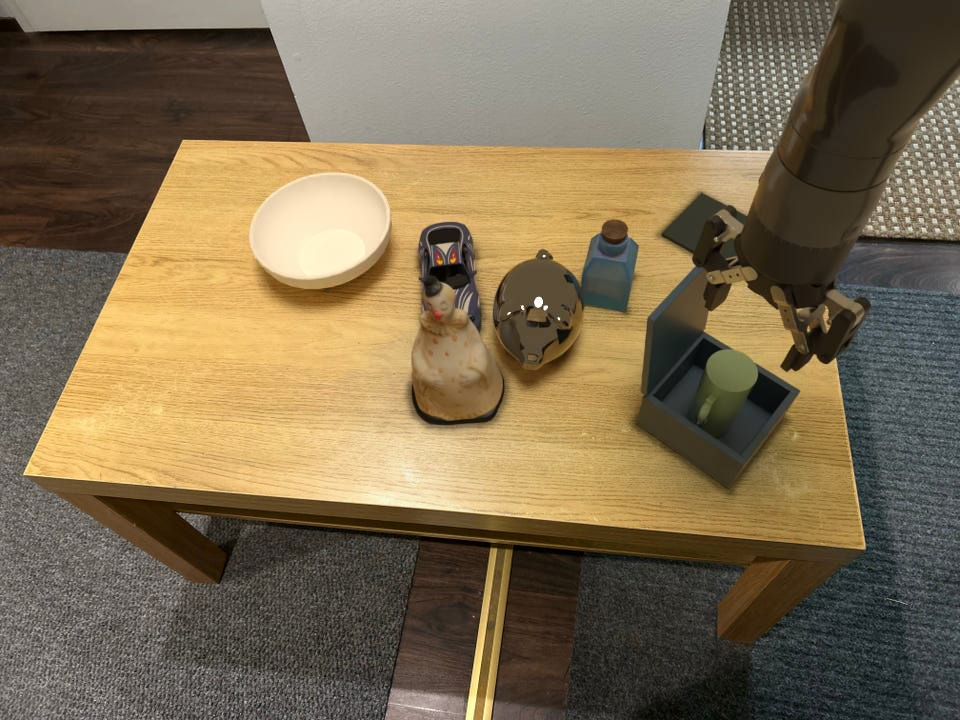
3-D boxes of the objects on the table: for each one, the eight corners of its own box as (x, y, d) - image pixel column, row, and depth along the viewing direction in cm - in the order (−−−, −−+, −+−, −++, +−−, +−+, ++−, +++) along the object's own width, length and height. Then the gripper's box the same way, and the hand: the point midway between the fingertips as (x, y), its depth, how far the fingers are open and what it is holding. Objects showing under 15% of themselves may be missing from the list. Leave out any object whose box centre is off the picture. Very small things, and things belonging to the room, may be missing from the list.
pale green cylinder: (741, 415, 81) (767, 367, 71) (709, 456, 78) (732, 411, 69) (703, 390, 83) (723, 340, 73) (670, 429, 80) (687, 382, 71)
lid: (722, 248, 69) (715, 244, 69) (654, 321, 65) (647, 317, 65) (705, 329, 80) (699, 325, 80) (646, 396, 76) (640, 392, 76)
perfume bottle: (633, 276, 94) (644, 214, 83) (626, 312, 91) (636, 252, 80) (588, 268, 95) (594, 206, 85) (579, 304, 92) (584, 244, 82)
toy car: (425, 344, 90) (419, 322, 86) (419, 239, 100) (413, 215, 96) (484, 337, 90) (481, 315, 86) (472, 232, 100) (469, 208, 96)
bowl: (256, 315, 95) (237, 283, 89) (276, 211, 105) (260, 176, 99) (396, 307, 94) (386, 274, 88) (402, 202, 104) (394, 167, 98)
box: (782, 418, 81) (801, 390, 75) (728, 489, 77) (743, 465, 71) (690, 360, 86) (701, 329, 80) (635, 423, 82) (642, 396, 76)
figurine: (413, 429, 84) (380, 339, 67) (411, 357, 89) (380, 257, 72) (508, 419, 84) (500, 326, 67) (500, 347, 89) (491, 245, 72)
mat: (775, 233, 96) (776, 231, 95) (736, 277, 92) (736, 275, 92) (700, 194, 100) (701, 192, 100) (661, 235, 97) (661, 232, 97)
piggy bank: (486, 384, 86) (479, 333, 77) (504, 289, 94) (499, 232, 84) (575, 393, 85) (580, 343, 75) (586, 296, 92) (591, 239, 83)
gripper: (937, 234, 46) (845, 361, 59) (765, 128, 52) (718, 265, 66) (866, 294, 44) (788, 411, 57) (696, 176, 50) (662, 307, 64)
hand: (751, 333), depth 62 cm, fingers open, 8 cm apart
